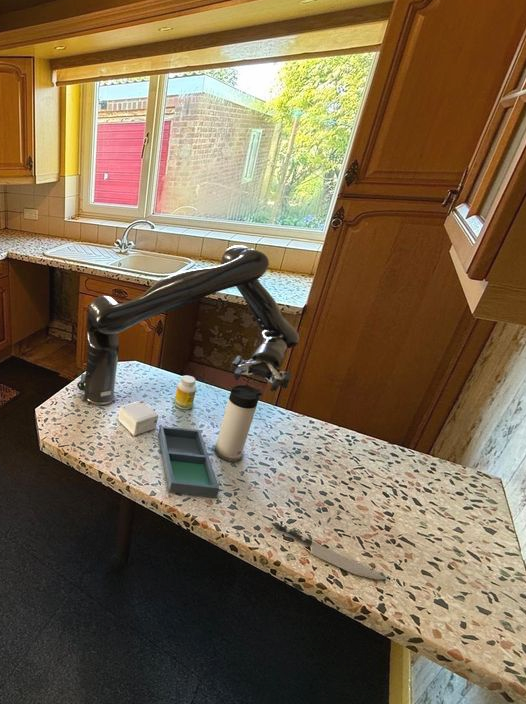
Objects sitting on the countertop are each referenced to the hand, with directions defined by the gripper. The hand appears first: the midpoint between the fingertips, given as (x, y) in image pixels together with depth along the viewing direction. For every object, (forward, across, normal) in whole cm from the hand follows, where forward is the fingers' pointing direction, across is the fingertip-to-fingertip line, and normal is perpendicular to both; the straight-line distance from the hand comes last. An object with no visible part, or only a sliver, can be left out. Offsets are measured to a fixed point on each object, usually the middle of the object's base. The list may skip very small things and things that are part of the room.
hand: (254, 382), depth 105 cm
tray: (+22, -8, +16) cm, 28 cm away
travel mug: (+11, 0, +17) cm, 20 cm away
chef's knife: (+29, +23, +16) cm, 41 cm away
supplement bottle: (-2, -17, +17) cm, 24 cm away
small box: (+16, -24, +16) cm, 33 cm away
